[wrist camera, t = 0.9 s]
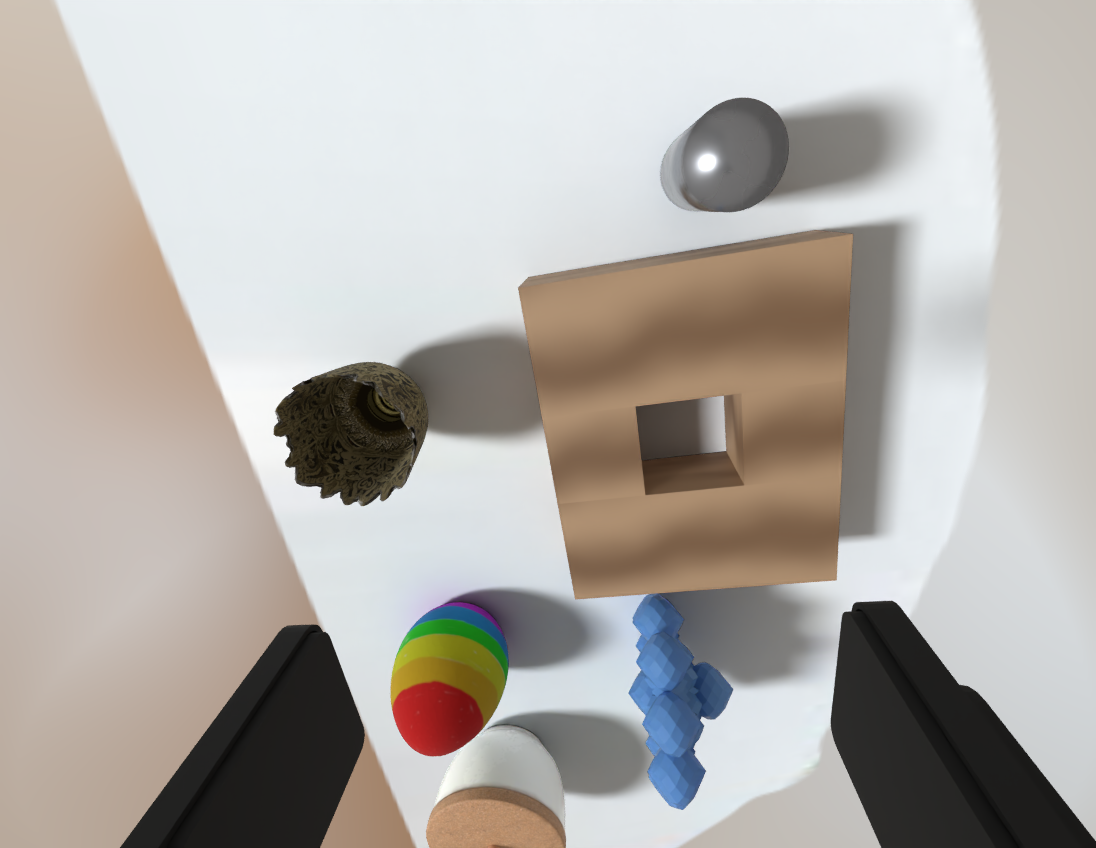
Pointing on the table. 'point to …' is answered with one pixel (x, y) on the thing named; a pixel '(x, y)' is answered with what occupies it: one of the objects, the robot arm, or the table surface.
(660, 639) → the grapes
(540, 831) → the lidded jar
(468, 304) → the table surface
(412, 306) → the table surface
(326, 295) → the table surface
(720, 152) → the steel peg
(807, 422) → the walnut block
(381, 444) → the cup
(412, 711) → the decorative egg
